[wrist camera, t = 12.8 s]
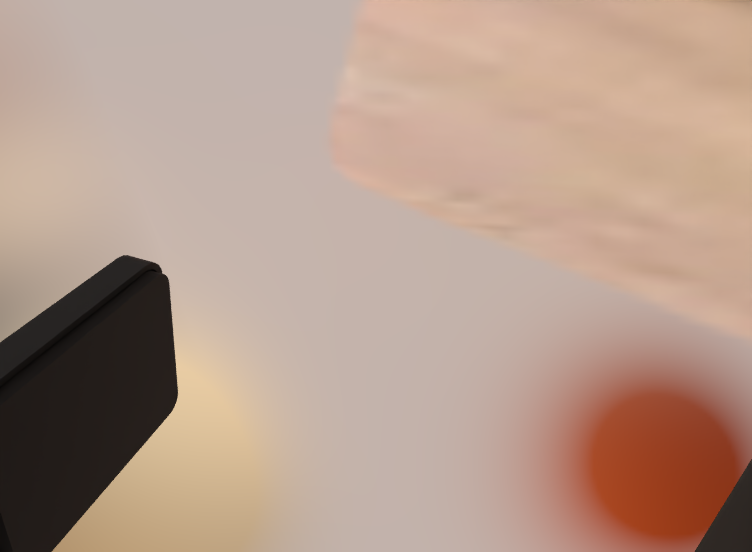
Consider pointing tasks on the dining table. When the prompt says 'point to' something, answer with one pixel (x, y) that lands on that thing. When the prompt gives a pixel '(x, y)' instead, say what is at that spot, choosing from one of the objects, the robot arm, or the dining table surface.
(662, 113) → the dining table surface
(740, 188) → the dining table surface
